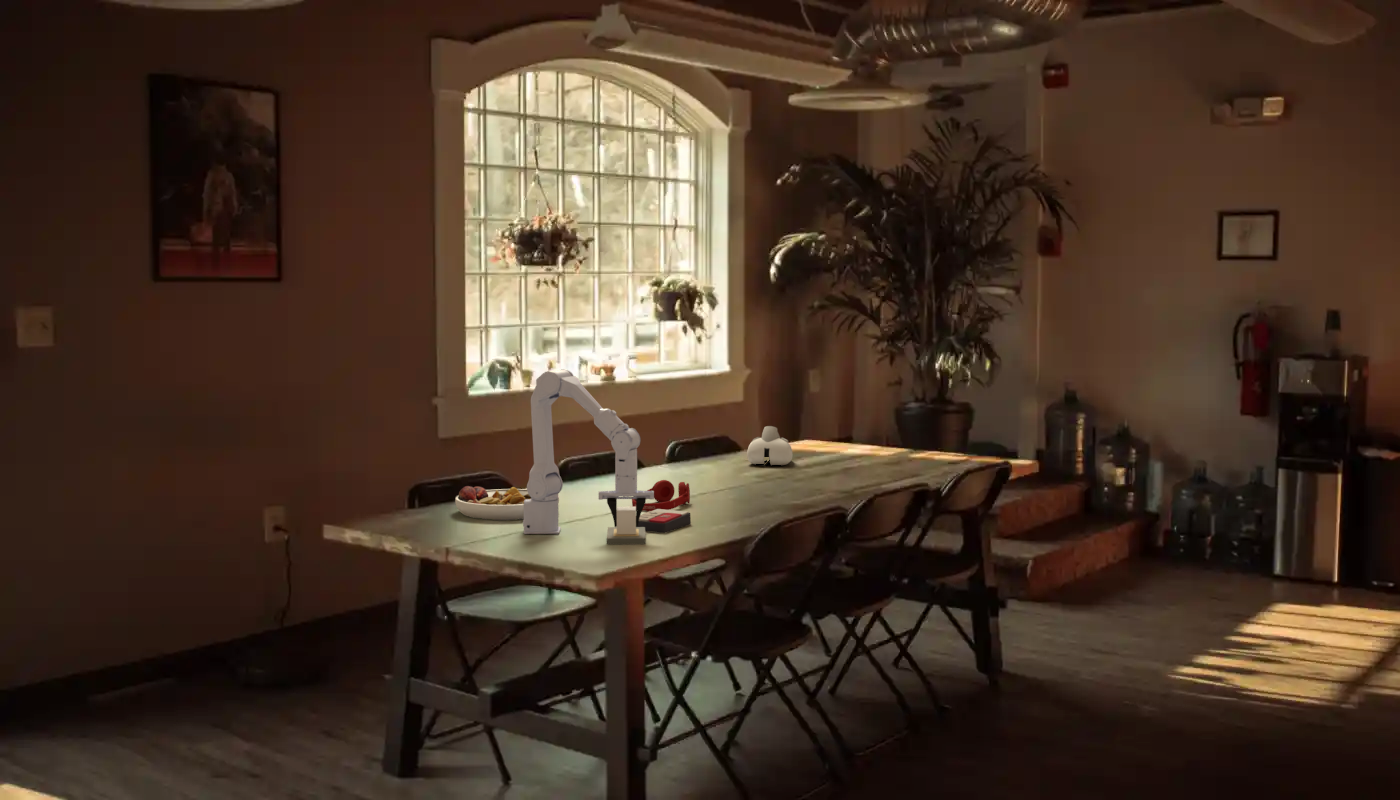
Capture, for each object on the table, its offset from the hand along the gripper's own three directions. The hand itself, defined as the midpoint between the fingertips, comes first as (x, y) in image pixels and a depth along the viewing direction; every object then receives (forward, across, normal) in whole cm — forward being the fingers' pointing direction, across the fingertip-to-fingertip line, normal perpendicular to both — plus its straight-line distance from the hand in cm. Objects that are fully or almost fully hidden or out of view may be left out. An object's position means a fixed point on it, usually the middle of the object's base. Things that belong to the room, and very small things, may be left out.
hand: (626, 526), depth 359 cm
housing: (+1, 0, 0) cm, 1 cm away
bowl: (+4, -35, +41) cm, 54 cm away
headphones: (+4, +10, +51) cm, 52 cm away
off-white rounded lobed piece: (+4, +53, +147) cm, 156 cm away
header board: (+3, 0, 0) cm, 3 cm away
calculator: (+4, +9, +16) cm, 19 cm away
